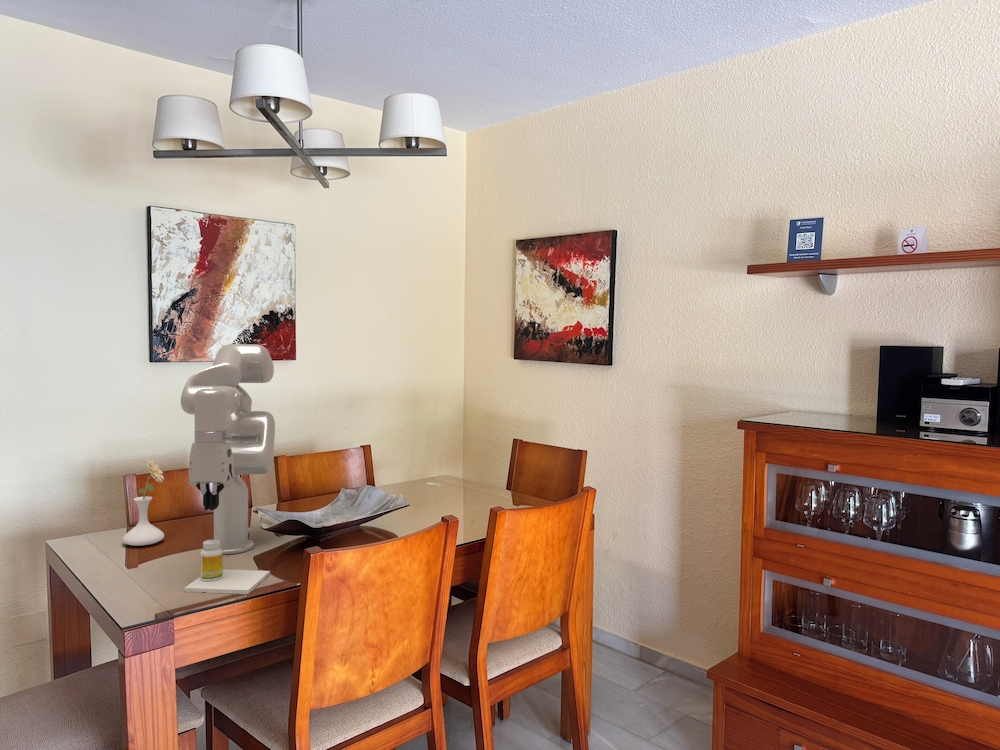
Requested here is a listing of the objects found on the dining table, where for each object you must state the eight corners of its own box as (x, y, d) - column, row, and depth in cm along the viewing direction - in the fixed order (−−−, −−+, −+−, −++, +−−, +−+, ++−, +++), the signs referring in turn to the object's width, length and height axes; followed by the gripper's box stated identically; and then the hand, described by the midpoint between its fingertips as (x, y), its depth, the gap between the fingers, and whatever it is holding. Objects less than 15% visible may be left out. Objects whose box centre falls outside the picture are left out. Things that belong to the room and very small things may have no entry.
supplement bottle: (196, 578, 177) (196, 541, 176) (217, 573, 181) (216, 537, 180) (205, 583, 173) (205, 545, 173) (226, 578, 177) (226, 541, 176)
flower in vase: (146, 550, 202) (145, 465, 201) (113, 547, 204) (112, 463, 203) (176, 537, 215) (175, 458, 213) (144, 535, 217) (143, 456, 216)
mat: (211, 572, 184) (211, 569, 184) (269, 574, 183) (269, 571, 183) (184, 591, 170) (184, 587, 170) (247, 594, 169) (247, 590, 169)
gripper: (246, 436, 178) (246, 506, 179) (189, 434, 179) (189, 504, 180) (233, 440, 171) (233, 513, 172) (173, 438, 171) (174, 511, 172)
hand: (211, 508), depth 176 cm, fingers closed
